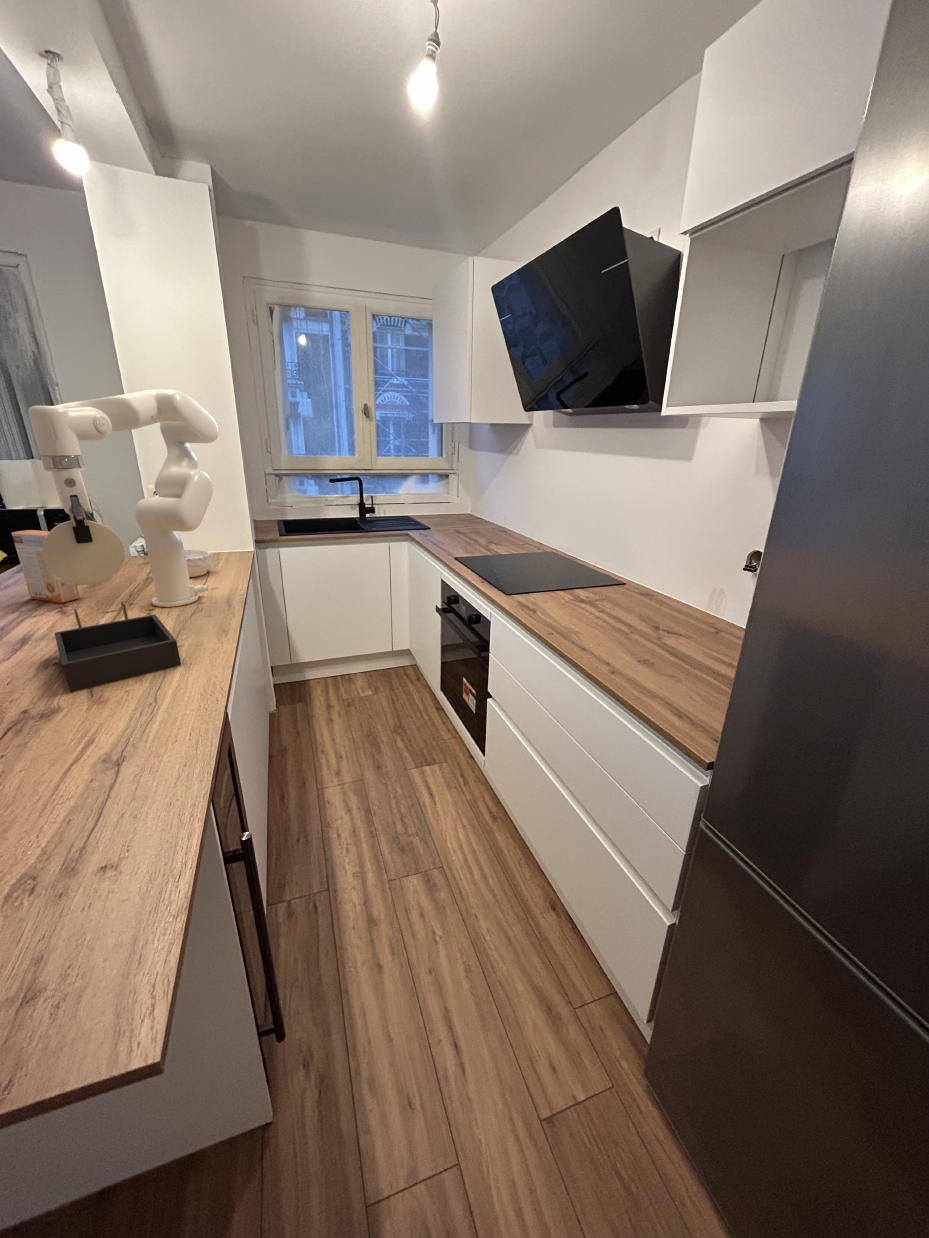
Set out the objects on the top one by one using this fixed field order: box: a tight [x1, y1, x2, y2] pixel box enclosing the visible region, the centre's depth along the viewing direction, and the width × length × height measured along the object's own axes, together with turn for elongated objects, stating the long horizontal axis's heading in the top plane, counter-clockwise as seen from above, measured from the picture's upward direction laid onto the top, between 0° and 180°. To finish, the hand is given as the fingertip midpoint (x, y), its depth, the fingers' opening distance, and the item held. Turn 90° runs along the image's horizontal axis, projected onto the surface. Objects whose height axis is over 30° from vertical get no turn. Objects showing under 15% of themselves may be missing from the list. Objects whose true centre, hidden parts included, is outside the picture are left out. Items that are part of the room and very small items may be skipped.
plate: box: [42, 519, 126, 586], centre depth 120 cm, size 16×1×16 cm, turn 131°
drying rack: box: [73, 600, 130, 628], centre depth 126 cm, size 16×8×7 cm, turn 131°
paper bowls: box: [184, 549, 214, 578], centre depth 179 cm, size 15×15×8 cm
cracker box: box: [11, 529, 81, 604], centre depth 148 cm, size 14×6×21 cm, turn 71°
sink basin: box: [54, 613, 182, 693], centre depth 110 cm, size 20×22×6 cm
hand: (84, 541), depth 119 cm, fingers closed on plate, 1 cm apart
